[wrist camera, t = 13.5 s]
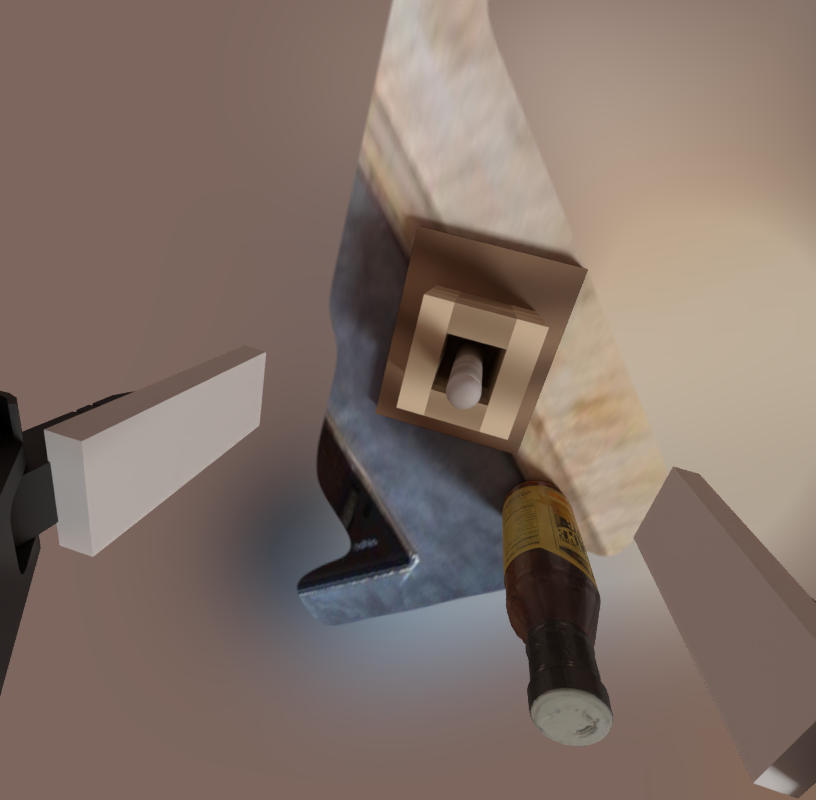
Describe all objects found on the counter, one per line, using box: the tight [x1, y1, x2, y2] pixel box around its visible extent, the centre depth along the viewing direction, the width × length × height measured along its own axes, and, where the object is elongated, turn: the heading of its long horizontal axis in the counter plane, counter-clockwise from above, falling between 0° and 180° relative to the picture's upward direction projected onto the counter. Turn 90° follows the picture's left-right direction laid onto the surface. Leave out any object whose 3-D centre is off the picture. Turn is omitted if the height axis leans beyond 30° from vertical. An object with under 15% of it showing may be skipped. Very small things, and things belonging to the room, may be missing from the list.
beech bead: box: [396, 285, 549, 440], centre depth 30 cm, size 8×8×7 cm
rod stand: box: [376, 226, 588, 455], centre depth 29 cm, size 16×13×14 cm
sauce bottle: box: [502, 481, 613, 746], centre depth 30 cm, size 7×6×20 cm
